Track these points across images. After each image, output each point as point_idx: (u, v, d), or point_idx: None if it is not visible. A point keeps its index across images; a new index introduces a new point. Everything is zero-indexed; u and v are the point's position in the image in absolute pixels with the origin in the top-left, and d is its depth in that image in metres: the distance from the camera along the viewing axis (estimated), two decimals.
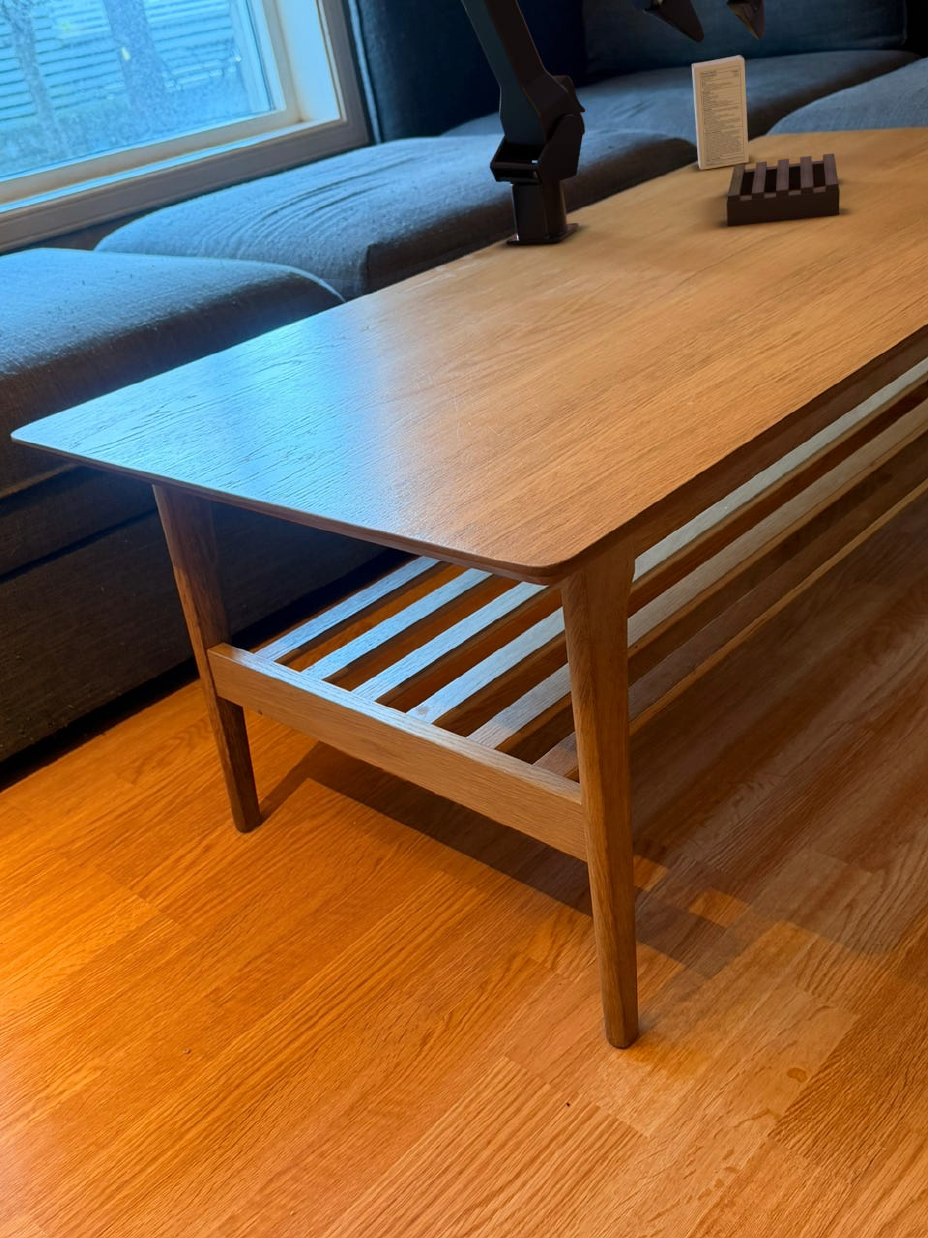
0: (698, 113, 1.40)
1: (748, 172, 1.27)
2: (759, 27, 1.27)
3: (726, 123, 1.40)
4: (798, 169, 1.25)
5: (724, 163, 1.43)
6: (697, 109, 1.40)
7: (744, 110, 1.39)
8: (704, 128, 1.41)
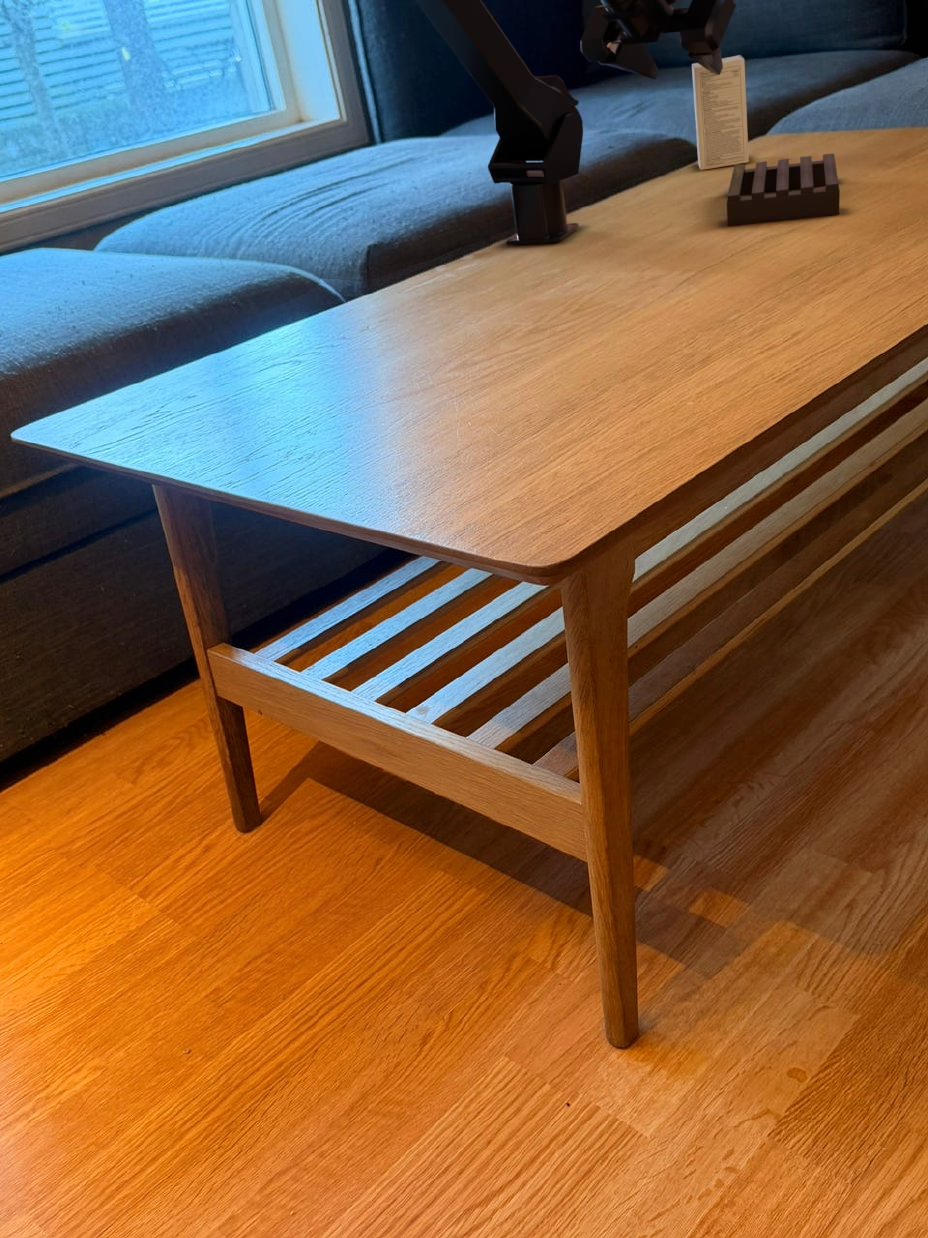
0: (698, 113, 1.40)
1: (748, 172, 1.27)
2: (718, 65, 1.31)
3: (726, 123, 1.40)
4: (798, 169, 1.25)
5: (724, 163, 1.43)
6: (697, 109, 1.40)
7: (744, 110, 1.39)
8: (704, 128, 1.41)
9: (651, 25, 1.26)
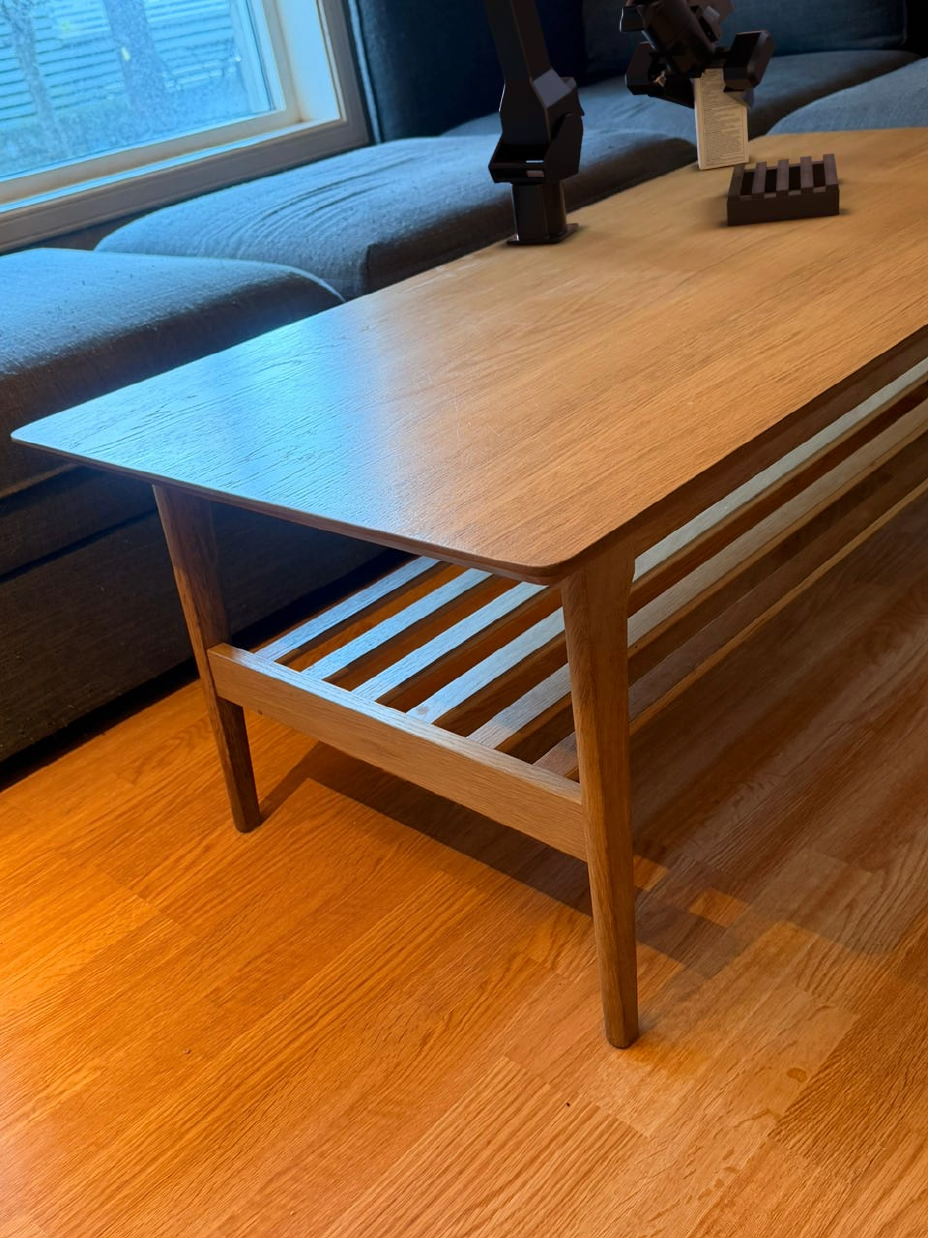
0: (698, 113, 1.40)
1: (748, 172, 1.27)
2: (750, 100, 1.38)
3: (726, 123, 1.40)
4: (798, 169, 1.25)
5: (724, 163, 1.43)
6: (697, 109, 1.40)
7: (744, 110, 1.39)
8: (704, 128, 1.41)
9: (694, 62, 1.32)
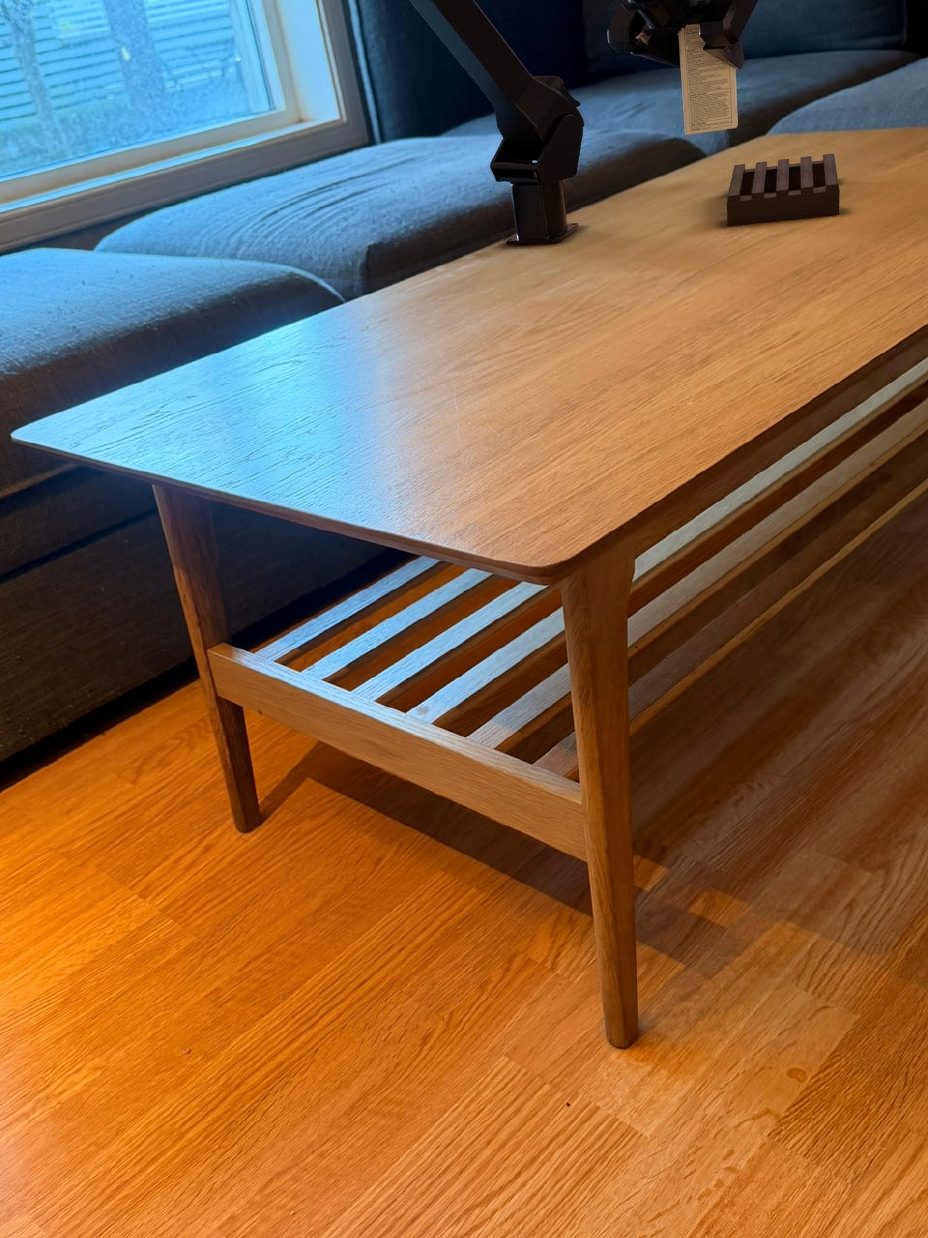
0: (682, 73, 1.30)
1: (748, 172, 1.27)
2: (738, 59, 1.28)
3: (712, 84, 1.30)
4: (798, 169, 1.25)
5: (710, 128, 1.33)
6: (681, 69, 1.30)
7: (732, 71, 1.29)
8: (689, 89, 1.31)
9: (671, 16, 1.23)
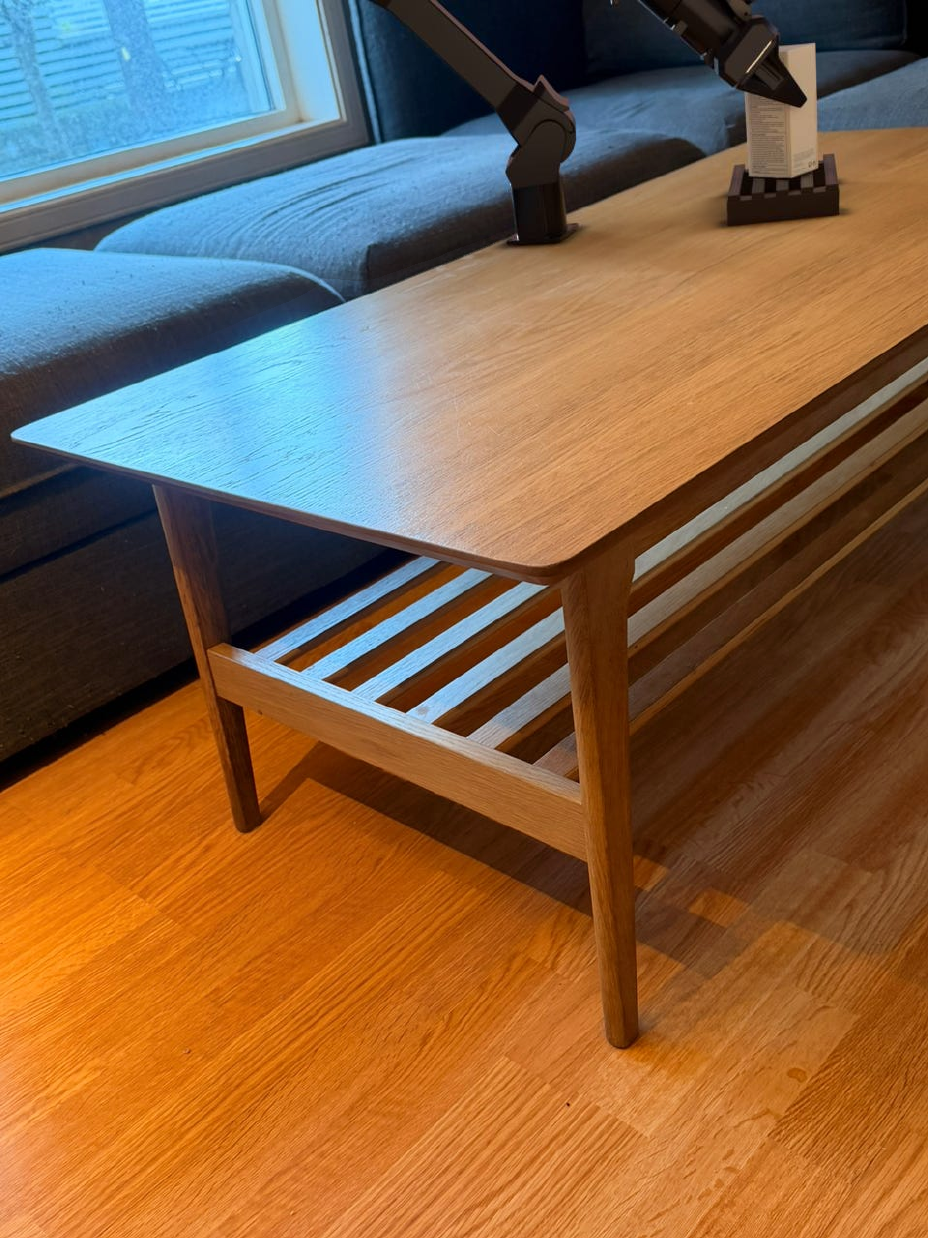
0: (746, 109, 1.18)
1: (748, 172, 1.27)
2: (792, 97, 1.11)
3: (770, 126, 1.16)
4: None
5: (768, 174, 1.19)
6: (745, 104, 1.18)
7: (787, 114, 1.14)
8: (751, 128, 1.18)
9: (704, 45, 1.12)
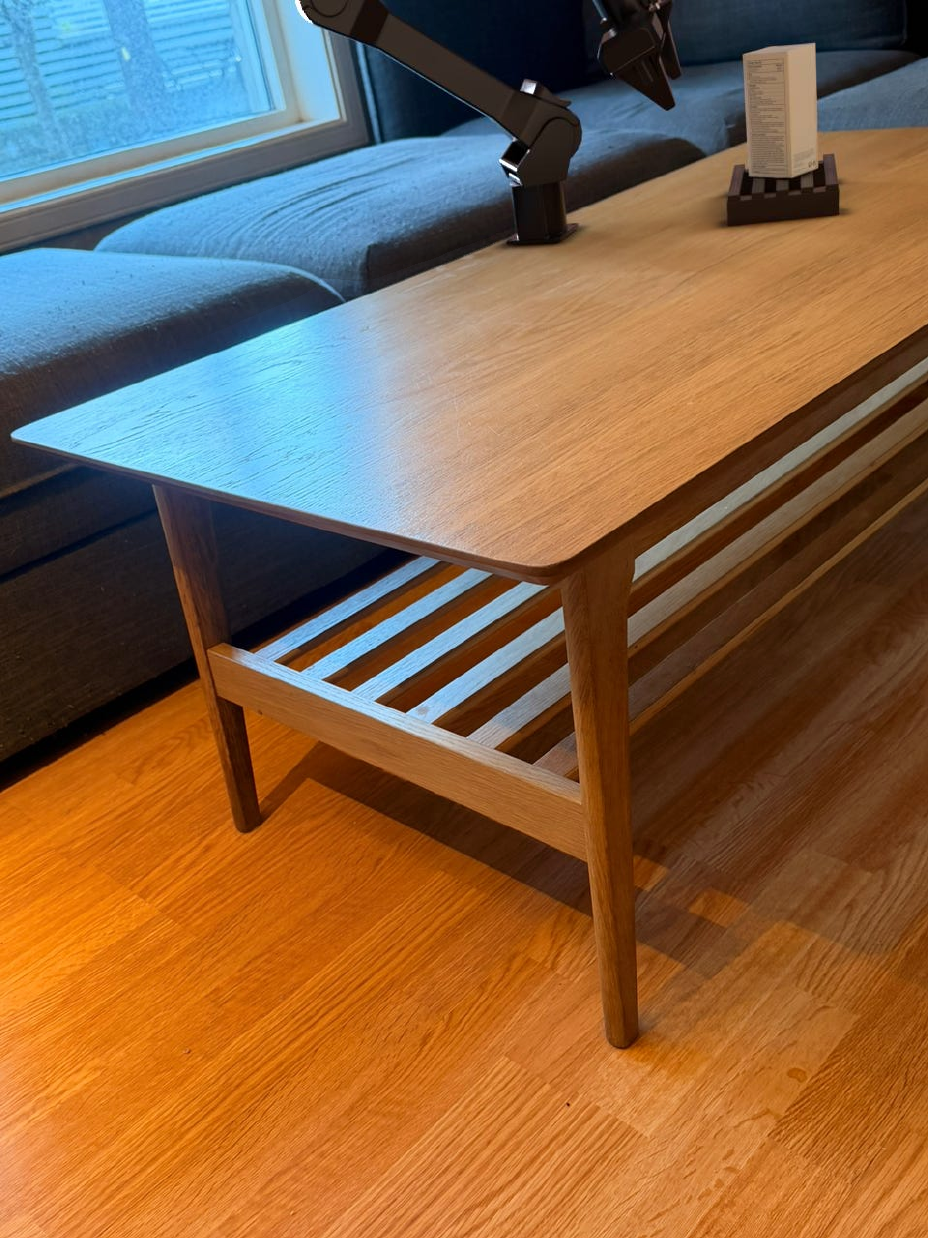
0: (746, 109, 1.18)
1: (748, 172, 1.27)
2: (662, 99, 1.16)
3: (770, 126, 1.16)
4: None
5: (768, 174, 1.19)
6: (745, 104, 1.18)
7: (787, 114, 1.14)
8: (751, 128, 1.18)
9: (604, 12, 1.15)
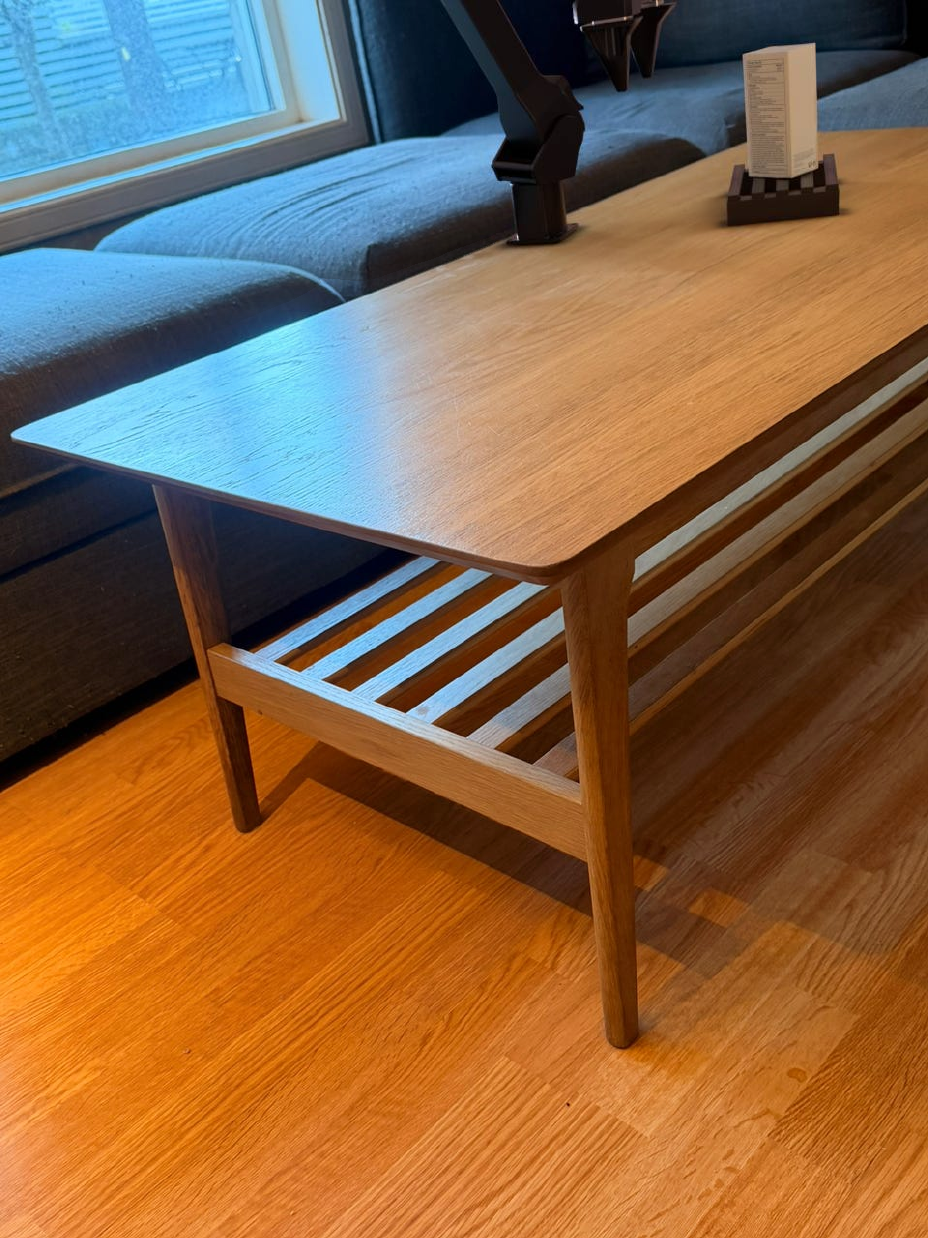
0: (746, 109, 1.18)
1: (748, 172, 1.27)
2: (616, 78, 1.20)
3: (770, 126, 1.16)
4: None
5: (768, 174, 1.19)
6: (745, 104, 1.18)
7: (787, 114, 1.14)
8: (751, 128, 1.18)
9: None
